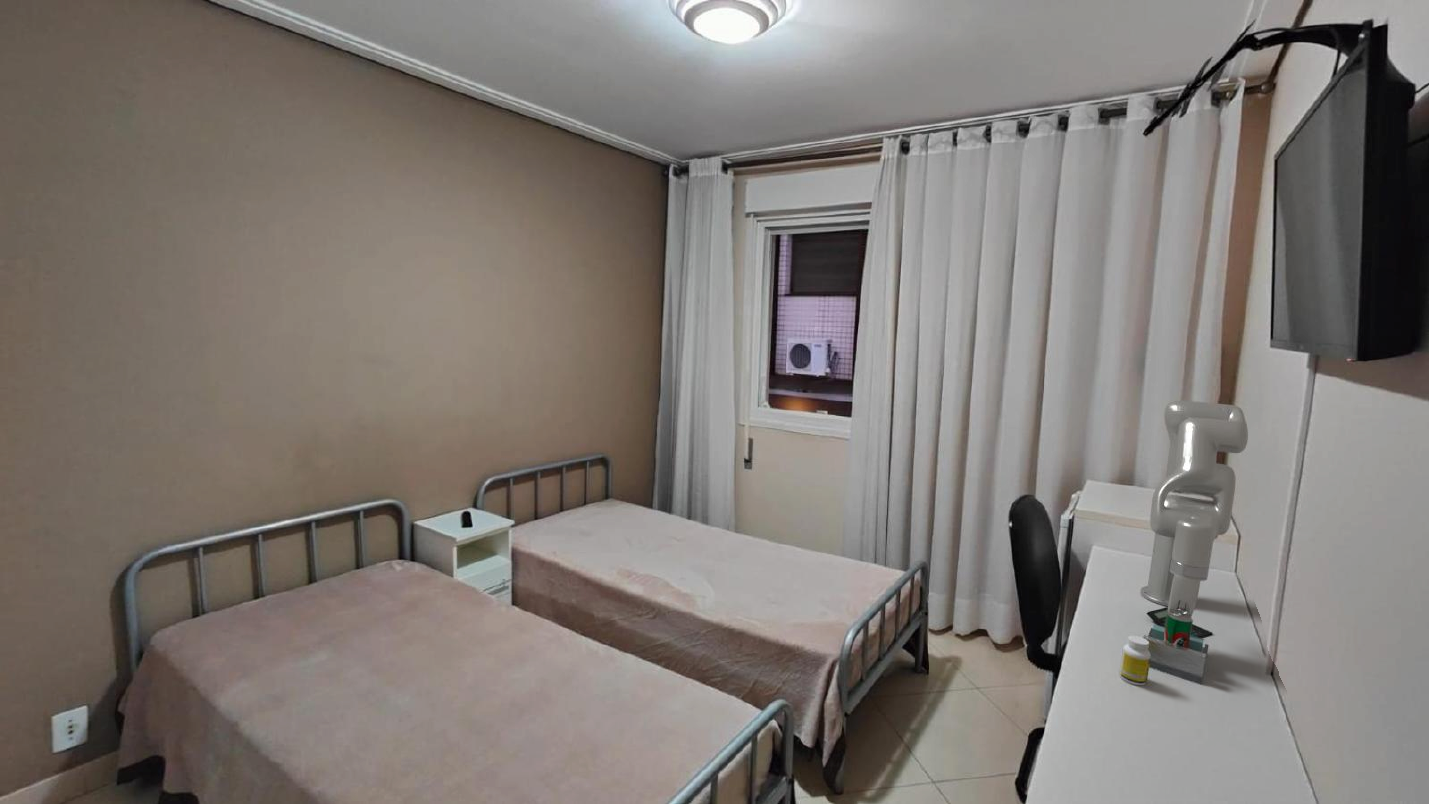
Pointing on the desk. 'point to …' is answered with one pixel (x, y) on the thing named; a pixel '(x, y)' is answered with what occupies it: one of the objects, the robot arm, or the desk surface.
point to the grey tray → (1177, 659)
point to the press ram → (1193, 644)
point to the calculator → (1160, 620)
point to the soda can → (1178, 627)
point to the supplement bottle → (1135, 661)
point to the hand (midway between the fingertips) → (1178, 638)
